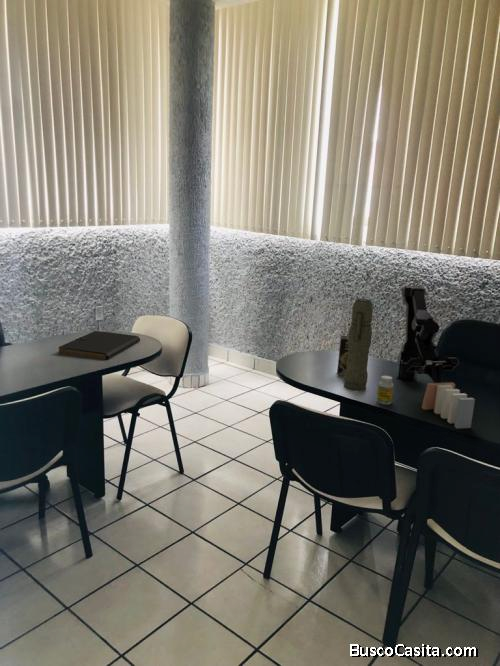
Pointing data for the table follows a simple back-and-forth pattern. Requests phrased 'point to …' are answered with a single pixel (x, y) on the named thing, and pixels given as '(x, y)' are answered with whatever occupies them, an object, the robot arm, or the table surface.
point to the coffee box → (343, 356)
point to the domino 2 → (440, 397)
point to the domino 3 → (447, 401)
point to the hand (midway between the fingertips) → (438, 385)
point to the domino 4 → (454, 406)
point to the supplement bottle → (385, 390)
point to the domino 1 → (432, 395)
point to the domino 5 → (464, 413)
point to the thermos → (359, 345)
